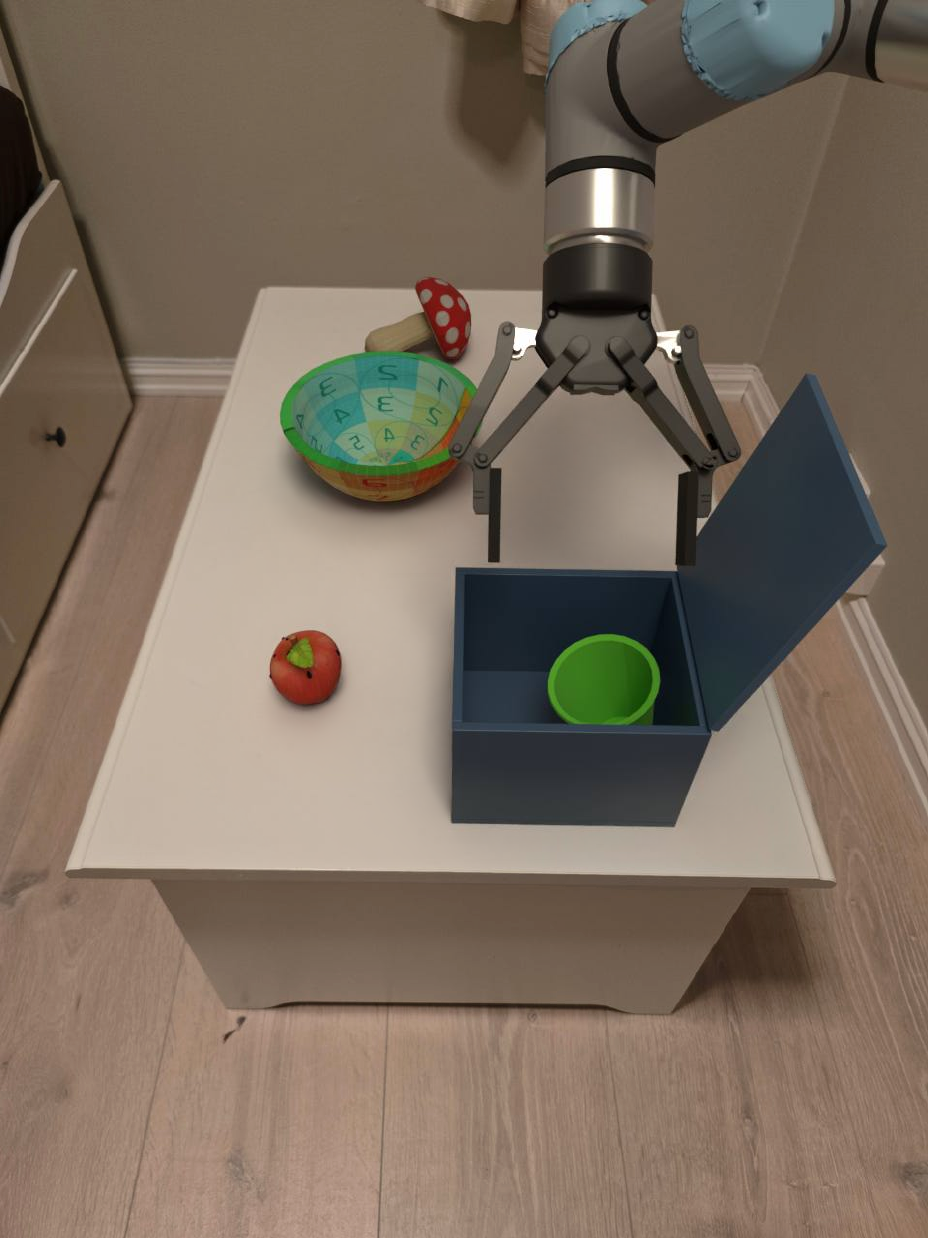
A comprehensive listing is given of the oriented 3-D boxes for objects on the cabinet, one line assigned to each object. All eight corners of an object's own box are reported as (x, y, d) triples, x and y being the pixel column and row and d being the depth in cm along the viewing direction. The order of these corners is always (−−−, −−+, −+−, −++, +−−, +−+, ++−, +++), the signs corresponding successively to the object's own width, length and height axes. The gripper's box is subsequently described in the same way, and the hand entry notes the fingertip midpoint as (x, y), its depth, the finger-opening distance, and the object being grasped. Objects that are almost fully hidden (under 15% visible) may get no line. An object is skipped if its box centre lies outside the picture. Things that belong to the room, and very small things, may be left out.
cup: (555, 770, 80) (527, 709, 72) (597, 688, 84) (576, 621, 75) (648, 806, 76) (631, 745, 67) (689, 718, 79) (677, 650, 71)
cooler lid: (876, 542, 50) (888, 545, 50) (806, 372, 61) (816, 375, 61) (708, 730, 65) (718, 732, 65) (676, 566, 76) (684, 567, 76)
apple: (260, 689, 85) (241, 620, 77) (318, 652, 88) (306, 583, 80) (306, 740, 81) (292, 674, 74) (366, 700, 84) (358, 632, 77)
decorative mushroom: (343, 311, 113) (451, 259, 111) (351, 313, 123) (450, 266, 122) (381, 394, 116) (487, 345, 114) (386, 389, 126) (483, 344, 125)
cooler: (451, 823, 76) (451, 730, 65) (454, 668, 87) (455, 566, 76) (674, 827, 76) (712, 734, 65) (650, 672, 87) (679, 570, 76)
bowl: (456, 408, 114) (457, 338, 106) (503, 525, 100) (508, 455, 92) (281, 432, 110) (269, 362, 103) (304, 558, 96) (292, 487, 89)
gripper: (759, 275, 65) (747, 565, 67) (419, 269, 65) (416, 560, 67) (798, 240, 58) (784, 567, 60) (414, 233, 58) (410, 561, 59)
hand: (589, 564), depth 63 cm, fingers open, 13 cm apart
